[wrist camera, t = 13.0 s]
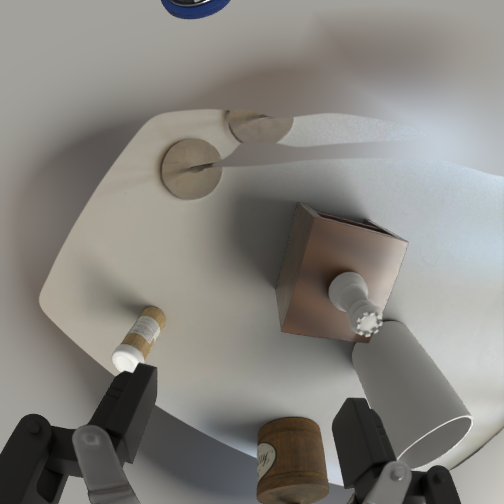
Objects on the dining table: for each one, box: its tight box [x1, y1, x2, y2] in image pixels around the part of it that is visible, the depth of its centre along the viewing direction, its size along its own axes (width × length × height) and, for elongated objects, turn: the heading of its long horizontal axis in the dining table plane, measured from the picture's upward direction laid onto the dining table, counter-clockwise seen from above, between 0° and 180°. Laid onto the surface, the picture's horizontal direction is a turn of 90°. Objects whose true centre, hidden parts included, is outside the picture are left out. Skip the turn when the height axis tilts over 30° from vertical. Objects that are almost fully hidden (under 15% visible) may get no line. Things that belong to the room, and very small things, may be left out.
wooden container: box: [257, 417, 329, 504], centre depth 45 cm, size 15×15×22 cm
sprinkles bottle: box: [112, 307, 166, 373], centre depth 39 cm, size 5×5×14 cm
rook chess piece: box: [329, 272, 383, 337], centre depth 27 cm, size 4×4×8 cm
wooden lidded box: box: [276, 202, 409, 343], centre depth 36 cm, size 14×12×12 cm
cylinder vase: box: [352, 321, 473, 470], centre depth 35 cm, size 12×12×25 cm
